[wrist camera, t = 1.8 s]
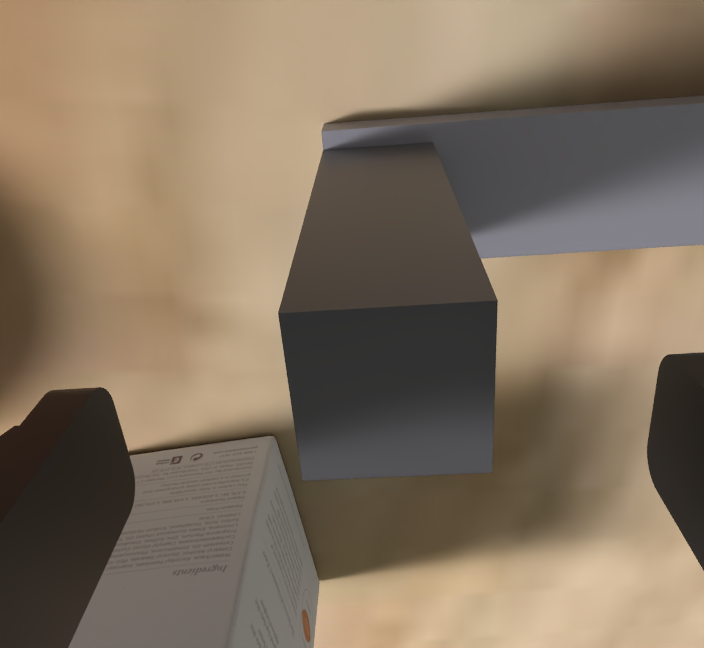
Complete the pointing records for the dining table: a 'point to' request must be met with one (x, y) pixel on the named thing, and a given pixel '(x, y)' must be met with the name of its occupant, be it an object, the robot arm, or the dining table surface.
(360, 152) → the grey l-shaped bracket
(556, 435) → the dining table surface
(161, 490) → the small box
